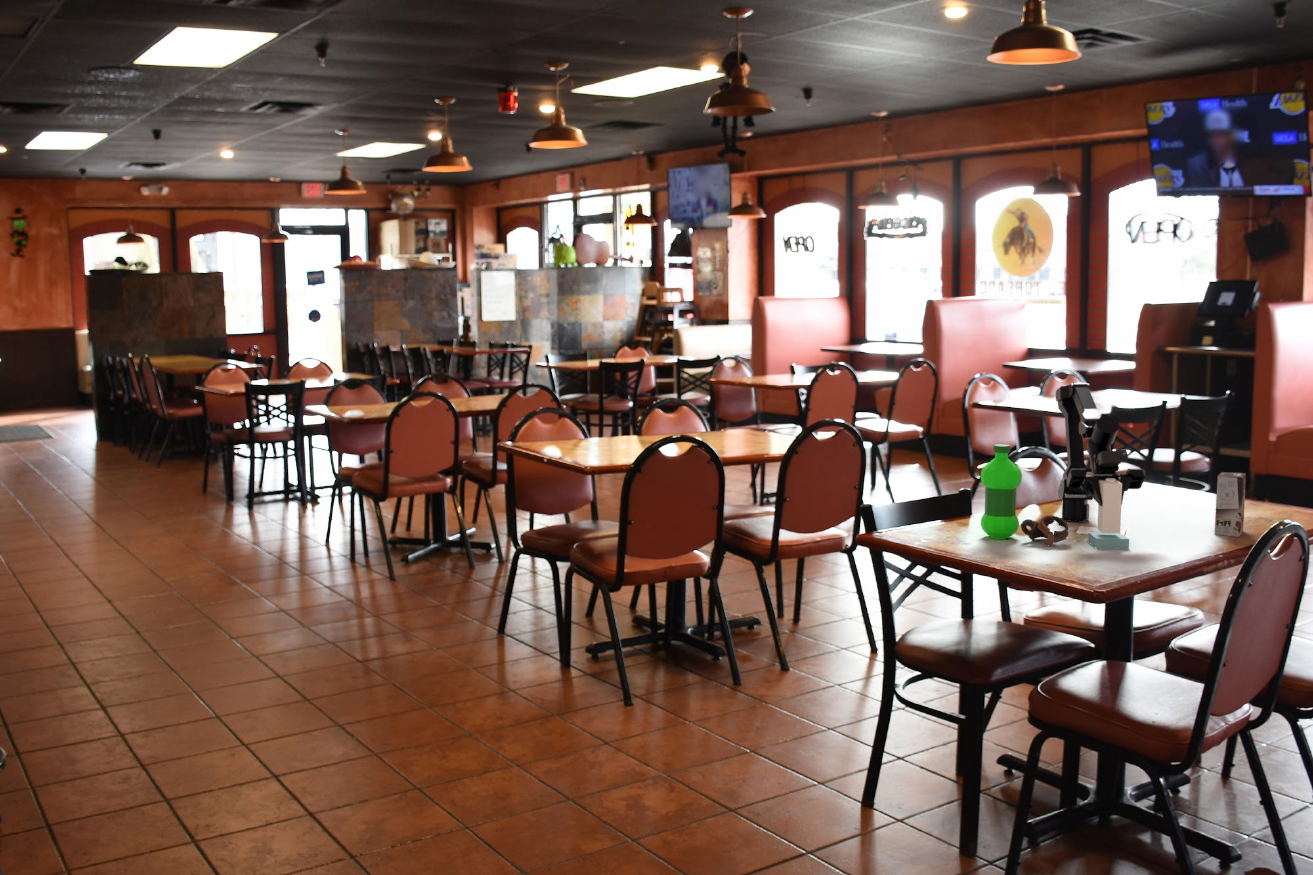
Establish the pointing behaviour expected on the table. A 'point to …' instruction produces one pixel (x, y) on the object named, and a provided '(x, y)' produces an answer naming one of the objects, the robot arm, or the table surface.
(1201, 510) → the table surface
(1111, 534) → the base brick
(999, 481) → the plastic bottle
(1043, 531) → the brown curved loop piece
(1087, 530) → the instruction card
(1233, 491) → the coffee box
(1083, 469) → the robot arm
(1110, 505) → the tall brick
